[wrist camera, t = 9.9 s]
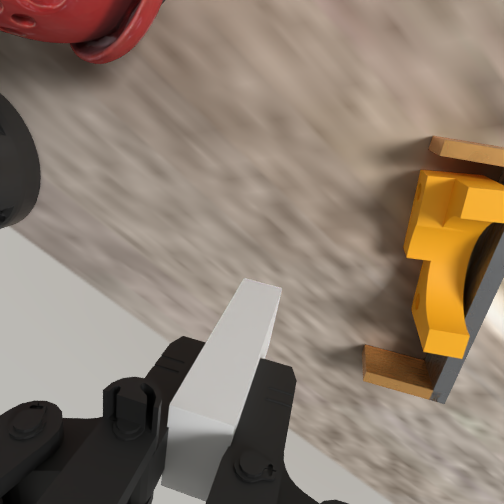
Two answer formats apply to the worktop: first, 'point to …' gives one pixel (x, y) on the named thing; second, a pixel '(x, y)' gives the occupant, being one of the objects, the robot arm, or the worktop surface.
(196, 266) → the worktop surface
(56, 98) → the worktop surface
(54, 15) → the plant pot
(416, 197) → the pipe clamp
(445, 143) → the keeper bracket
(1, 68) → the worktop surface
